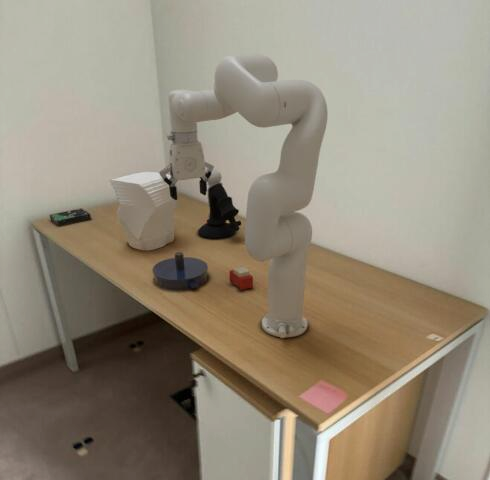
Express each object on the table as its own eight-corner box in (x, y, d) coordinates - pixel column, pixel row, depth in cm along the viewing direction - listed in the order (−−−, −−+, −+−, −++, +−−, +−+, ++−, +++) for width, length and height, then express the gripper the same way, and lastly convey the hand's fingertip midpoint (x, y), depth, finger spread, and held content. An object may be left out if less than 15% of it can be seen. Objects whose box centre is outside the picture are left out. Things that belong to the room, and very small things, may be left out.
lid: (165, 288, 142) (163, 269, 139) (145, 267, 156) (142, 249, 152) (217, 275, 150) (216, 257, 147) (194, 256, 163) (192, 239, 160)
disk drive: (82, 214, 214) (50, 220, 206) (81, 208, 212) (48, 214, 204) (91, 219, 207) (58, 226, 199) (90, 213, 205) (57, 220, 197)
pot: (170, 299, 142) (169, 289, 140) (144, 272, 159) (143, 263, 157) (220, 286, 149) (219, 276, 148) (190, 261, 166) (190, 252, 164)
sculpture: (222, 224, 200) (220, 164, 187) (254, 240, 184) (254, 175, 170) (191, 231, 193) (187, 169, 180) (221, 249, 176) (219, 182, 163)
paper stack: (113, 245, 180) (102, 177, 166) (167, 227, 197) (161, 164, 183) (146, 260, 168) (137, 188, 154) (201, 239, 185) (197, 173, 171)
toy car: (252, 289, 147) (252, 272, 144) (241, 292, 146) (241, 275, 142) (241, 280, 153) (240, 263, 150) (229, 283, 151) (229, 266, 148)
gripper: (161, 142, 128) (167, 204, 137) (217, 136, 136) (219, 195, 145) (152, 138, 134) (158, 197, 143) (206, 133, 141) (208, 189, 150)
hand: (189, 196), depth 144 cm, fingers open, 9 cm apart
